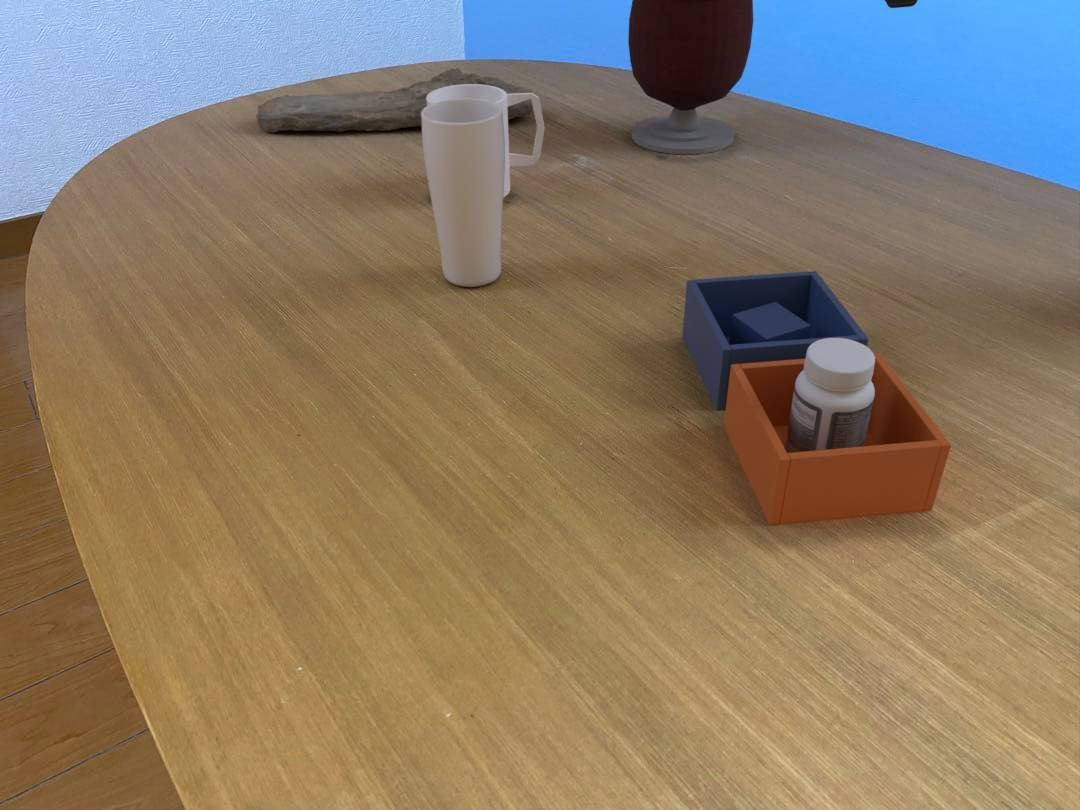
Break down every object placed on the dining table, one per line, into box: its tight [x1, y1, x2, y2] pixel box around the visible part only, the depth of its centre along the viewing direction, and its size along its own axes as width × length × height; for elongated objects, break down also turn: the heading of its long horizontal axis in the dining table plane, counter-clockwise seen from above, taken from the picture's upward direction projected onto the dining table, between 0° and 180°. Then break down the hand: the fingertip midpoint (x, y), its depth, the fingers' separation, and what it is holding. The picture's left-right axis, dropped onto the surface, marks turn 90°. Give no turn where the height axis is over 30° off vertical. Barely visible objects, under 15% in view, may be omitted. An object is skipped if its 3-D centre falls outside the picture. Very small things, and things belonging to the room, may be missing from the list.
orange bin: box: [723, 352, 952, 527], centre depth 60 cm, size 10×10×6 cm
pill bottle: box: [785, 338, 875, 454], centre depth 59 cm, size 5×5×8 cm
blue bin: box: [681, 270, 869, 411], centre depth 69 cm, size 10×10×6 cm
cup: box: [426, 84, 546, 198], centre depth 98 cm, size 8×12×10 cm
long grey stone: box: [255, 67, 534, 133], centre depth 119 cm, size 35×5×10 cm
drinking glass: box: [420, 98, 505, 288], centre depth 80 cm, size 7×7×15 cm
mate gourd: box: [627, 0, 754, 156], centre depth 108 cm, size 16×14×20 cm
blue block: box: [729, 302, 810, 345], centre depth 69 cm, size 4×4×4 cm
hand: (901, 5), depth 67 cm, fingers open, 8 cm apart
